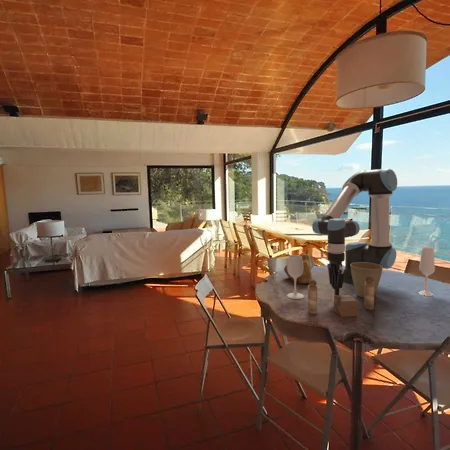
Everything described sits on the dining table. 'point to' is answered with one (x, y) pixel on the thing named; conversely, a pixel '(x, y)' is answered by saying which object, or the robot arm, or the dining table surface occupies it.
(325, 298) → the dining table surface
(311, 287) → the oak mill
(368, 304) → the oak mill
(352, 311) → the tan wooden cube
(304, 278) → the rough brown rock
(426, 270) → the champagne flute
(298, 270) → the wineglass
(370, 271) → the plant pot
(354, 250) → the robot arm
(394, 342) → the dining table surface
